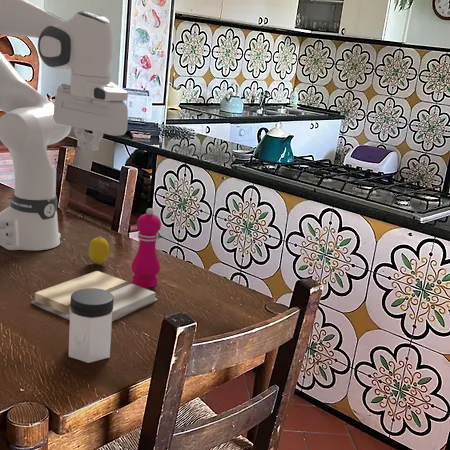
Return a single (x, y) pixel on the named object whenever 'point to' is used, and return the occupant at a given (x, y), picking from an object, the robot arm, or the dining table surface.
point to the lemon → (98, 250)
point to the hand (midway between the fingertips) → (87, 148)
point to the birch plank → (76, 289)
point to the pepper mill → (146, 251)
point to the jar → (90, 324)
